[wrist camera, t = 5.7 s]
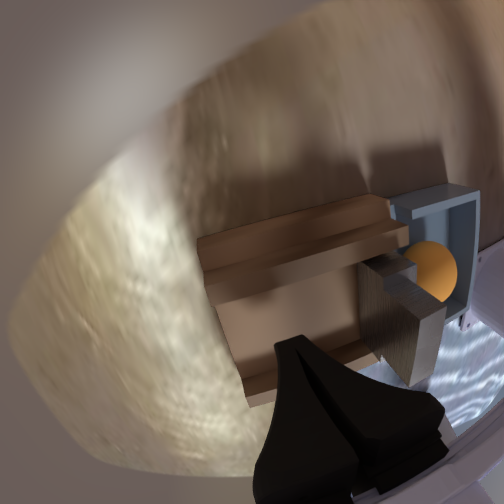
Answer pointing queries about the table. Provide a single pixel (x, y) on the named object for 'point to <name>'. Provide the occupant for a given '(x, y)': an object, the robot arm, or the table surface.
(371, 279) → the grey stepped block
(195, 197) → the table surface
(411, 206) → the blue-grey open tray
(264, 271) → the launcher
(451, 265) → the ball
